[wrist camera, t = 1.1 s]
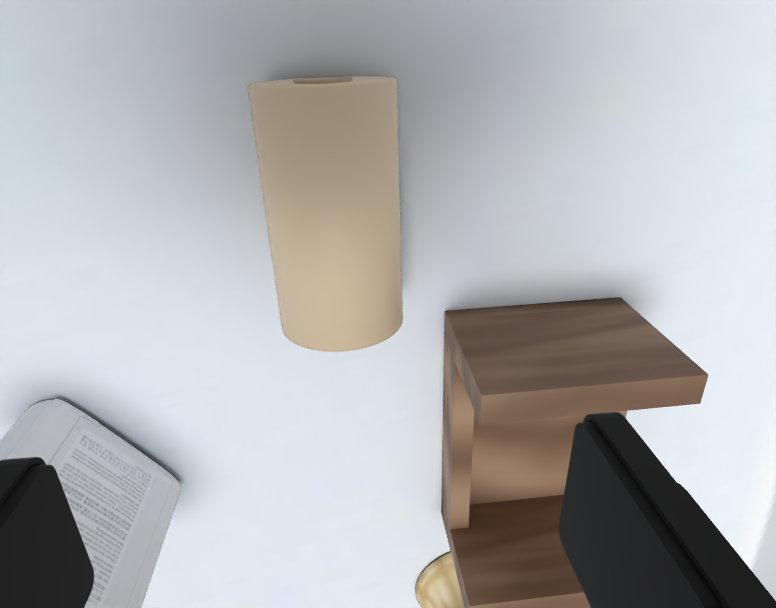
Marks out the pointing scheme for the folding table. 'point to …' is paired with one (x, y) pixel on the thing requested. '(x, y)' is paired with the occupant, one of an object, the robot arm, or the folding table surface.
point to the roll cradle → (536, 432)
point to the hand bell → (439, 585)
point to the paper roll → (332, 206)
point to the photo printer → (102, 495)
